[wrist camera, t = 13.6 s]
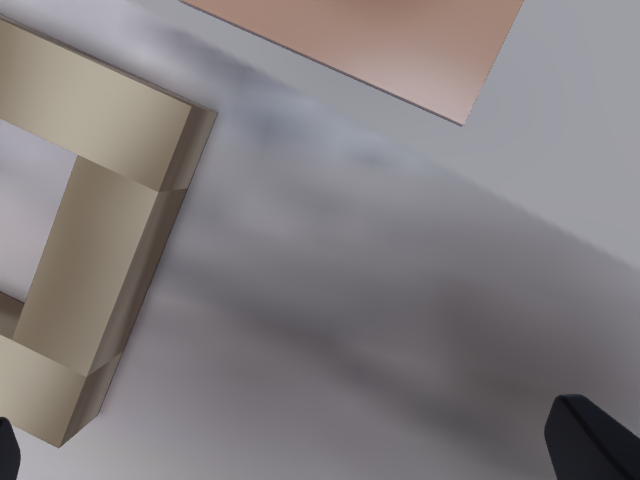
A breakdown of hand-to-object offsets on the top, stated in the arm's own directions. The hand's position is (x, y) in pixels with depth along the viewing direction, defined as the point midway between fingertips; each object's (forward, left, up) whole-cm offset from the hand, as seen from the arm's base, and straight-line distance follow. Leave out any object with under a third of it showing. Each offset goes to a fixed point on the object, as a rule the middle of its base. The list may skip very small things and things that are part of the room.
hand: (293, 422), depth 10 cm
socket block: (+12, +2, -10) cm, 16 cm away
